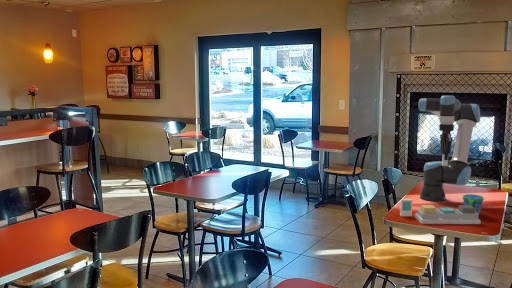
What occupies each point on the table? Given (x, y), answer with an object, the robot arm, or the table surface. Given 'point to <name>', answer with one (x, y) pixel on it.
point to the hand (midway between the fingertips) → (444, 165)
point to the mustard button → (428, 209)
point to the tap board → (447, 217)
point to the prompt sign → (406, 207)
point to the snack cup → (473, 201)
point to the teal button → (447, 210)
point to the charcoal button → (466, 209)
